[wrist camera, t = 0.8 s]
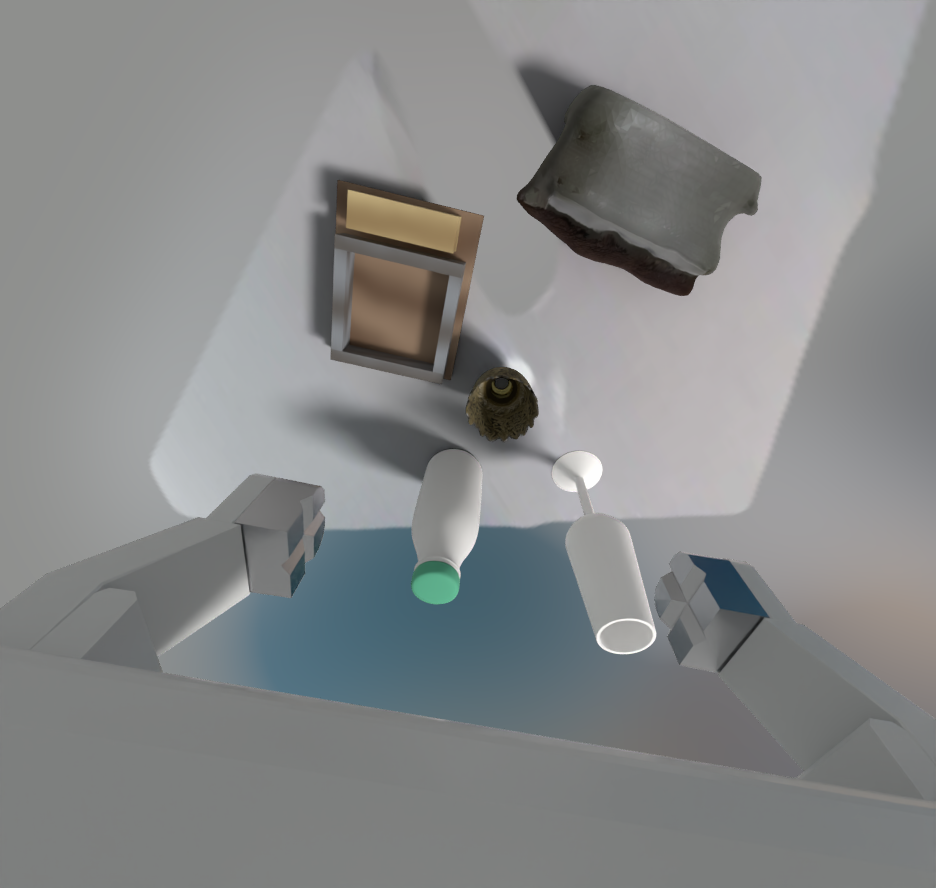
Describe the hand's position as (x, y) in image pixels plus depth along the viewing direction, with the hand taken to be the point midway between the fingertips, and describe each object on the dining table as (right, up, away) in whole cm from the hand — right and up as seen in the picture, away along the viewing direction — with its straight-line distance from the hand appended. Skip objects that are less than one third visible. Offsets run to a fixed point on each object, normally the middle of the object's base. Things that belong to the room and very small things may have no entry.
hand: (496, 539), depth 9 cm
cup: (+3, +10, +39) cm, 40 cm away
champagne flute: (+14, -1, +44) cm, 46 cm away
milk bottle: (-2, -1, +46) cm, 46 cm away
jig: (-8, +19, +34) cm, 39 cm away
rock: (+14, +25, +29) cm, 41 cm away
